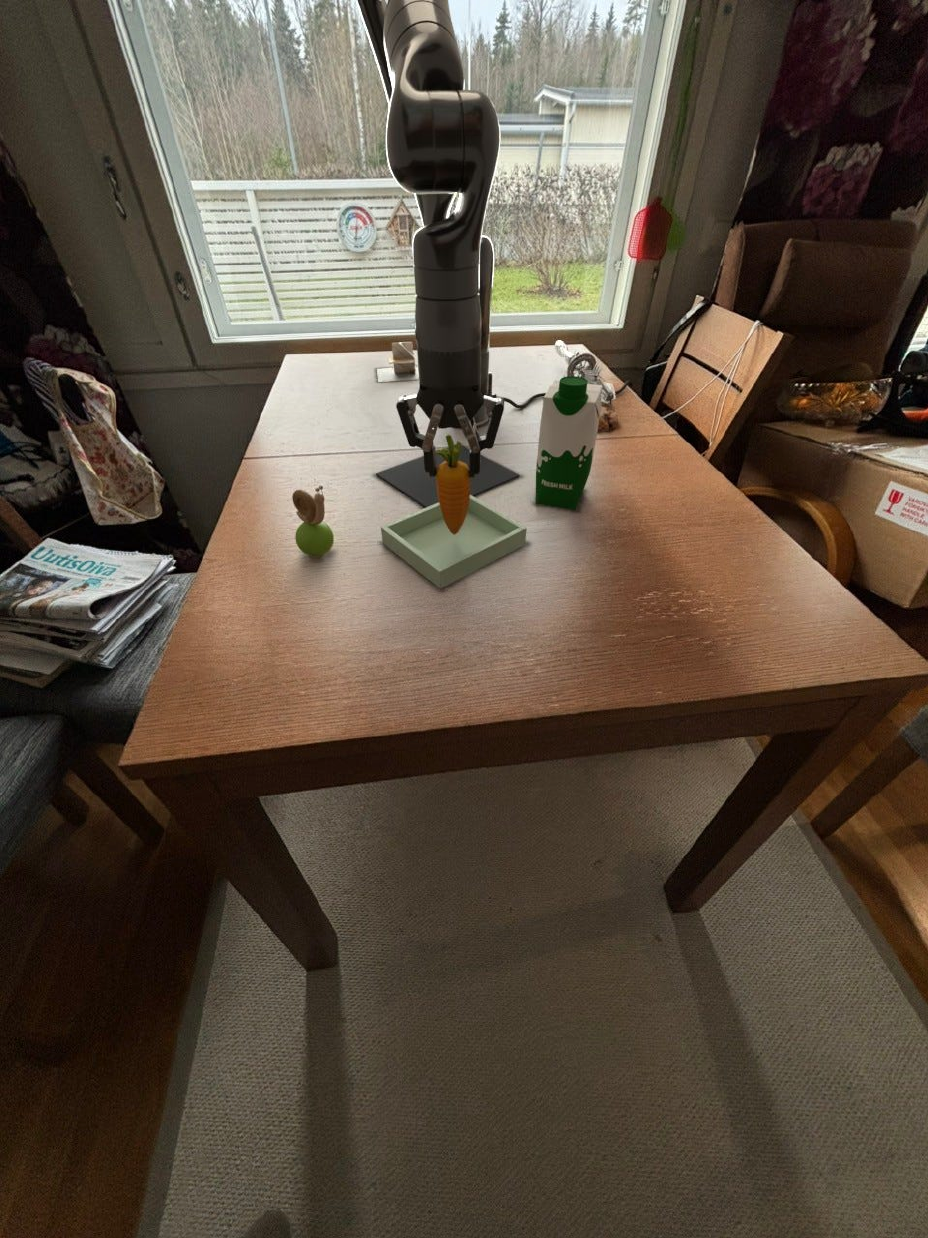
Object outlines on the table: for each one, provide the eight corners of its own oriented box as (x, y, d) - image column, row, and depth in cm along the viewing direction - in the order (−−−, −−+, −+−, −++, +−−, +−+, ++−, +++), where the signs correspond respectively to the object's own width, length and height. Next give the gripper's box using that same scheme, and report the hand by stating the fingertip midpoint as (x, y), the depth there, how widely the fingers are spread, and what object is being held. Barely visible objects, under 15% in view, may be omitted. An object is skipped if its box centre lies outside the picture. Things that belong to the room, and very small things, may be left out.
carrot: (467, 545, 75) (466, 448, 64) (434, 541, 75) (429, 445, 65) (473, 526, 78) (473, 432, 68) (442, 523, 79) (438, 429, 68)
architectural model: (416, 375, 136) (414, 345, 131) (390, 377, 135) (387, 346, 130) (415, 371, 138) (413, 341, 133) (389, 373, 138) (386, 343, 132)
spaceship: (574, 332, 137) (550, 322, 133) (634, 389, 114) (608, 378, 111) (559, 361, 142) (536, 352, 138) (614, 421, 119) (588, 412, 116)
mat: (458, 445, 104) (458, 443, 103) (519, 476, 93) (519, 474, 93) (376, 475, 94) (375, 473, 94) (434, 513, 84) (433, 511, 84)
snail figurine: (323, 570, 73) (305, 496, 65) (292, 556, 76) (270, 483, 67) (349, 551, 76) (334, 478, 68) (318, 539, 79) (300, 467, 71)
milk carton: (529, 506, 86) (540, 382, 72) (540, 481, 92) (553, 363, 78) (580, 514, 84) (601, 389, 70) (589, 488, 90) (610, 369, 76)
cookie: (582, 411, 116) (584, 397, 114) (625, 421, 112) (628, 407, 110) (562, 425, 111) (564, 411, 108) (607, 436, 106) (610, 422, 104)
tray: (464, 507, 86) (464, 491, 84) (525, 544, 77) (526, 527, 75) (382, 543, 78) (380, 526, 76) (440, 589, 70) (439, 571, 68)
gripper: (511, 331, 60) (505, 463, 72) (394, 329, 61) (406, 460, 73) (509, 349, 55) (503, 489, 67) (381, 348, 56) (397, 486, 68)
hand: (452, 474), depth 70 cm, fingers closed on carrot, 5 cm apart
